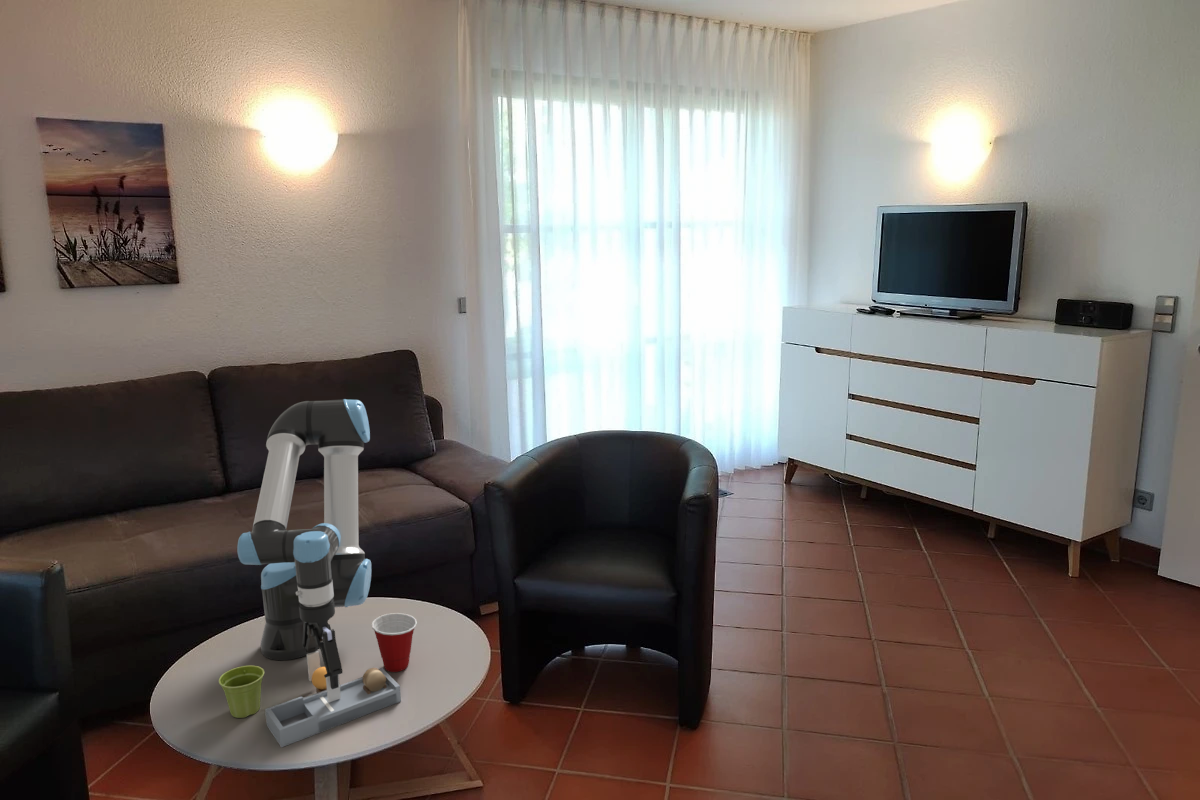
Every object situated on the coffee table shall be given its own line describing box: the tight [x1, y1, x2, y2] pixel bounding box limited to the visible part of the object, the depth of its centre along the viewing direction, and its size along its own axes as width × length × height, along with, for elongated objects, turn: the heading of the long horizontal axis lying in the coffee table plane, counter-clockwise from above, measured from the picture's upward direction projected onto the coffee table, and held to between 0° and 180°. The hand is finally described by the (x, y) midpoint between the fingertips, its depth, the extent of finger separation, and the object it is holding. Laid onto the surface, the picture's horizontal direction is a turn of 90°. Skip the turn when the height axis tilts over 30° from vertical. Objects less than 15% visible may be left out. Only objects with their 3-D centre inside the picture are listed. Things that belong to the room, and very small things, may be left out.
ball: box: [311, 666, 327, 689], centre depth 192 cm, size 5×5×5 cm
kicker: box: [362, 667, 387, 694], centre depth 191 cm, size 3×4×4 cm
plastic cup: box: [371, 612, 418, 673], centre depth 205 cm, size 11×11×12 cm
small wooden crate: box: [315, 687, 327, 694], centre depth 193 cm, size 3×3×3 cm
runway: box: [264, 667, 402, 748], centre depth 186 cm, size 10×27×4 cm, turn 128°
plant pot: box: [218, 665, 265, 719], centre depth 187 cm, size 9×9×9 cm
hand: (324, 689), depth 192 cm, fingers open, 12 cm apart
